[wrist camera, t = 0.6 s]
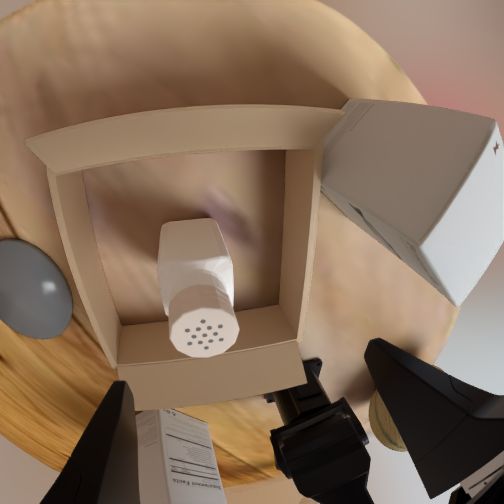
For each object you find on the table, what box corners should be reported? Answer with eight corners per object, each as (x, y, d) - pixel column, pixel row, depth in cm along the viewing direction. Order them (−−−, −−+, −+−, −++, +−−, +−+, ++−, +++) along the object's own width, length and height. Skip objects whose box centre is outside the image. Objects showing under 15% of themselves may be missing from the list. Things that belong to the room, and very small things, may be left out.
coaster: (88, 332, 22) (87, 337, 21) (10, 335, 19) (8, 339, 19) (51, 230, 17) (48, 233, 16) (-31, 247, 15) (-34, 250, 14)
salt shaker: (159, 219, 19) (151, 305, 11) (216, 214, 20) (249, 294, 12) (166, 269, 21) (168, 367, 13) (218, 263, 22) (247, 357, 14)
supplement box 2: (288, 166, 20) (416, 245, 9) (349, 95, 18) (500, 114, 7) (348, 222, 23) (457, 313, 12) (398, 159, 21) (521, 214, 11)
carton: (282, 322, 26) (312, 382, 20) (123, 344, 23) (118, 412, 17) (293, 108, 17) (354, 111, 11) (70, 128, 14) (14, 142, 8)
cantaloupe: (437, 344, 40) (485, 401, 27) (390, 399, 45) (426, 454, 33) (391, 345, 35) (451, 423, 22) (337, 409, 40) (376, 480, 27)
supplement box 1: (167, 443, 34) (181, 531, 21) (116, 423, 29) (121, 525, 16) (210, 422, 33) (235, 522, 20) (158, 400, 28) (173, 521, 15)
